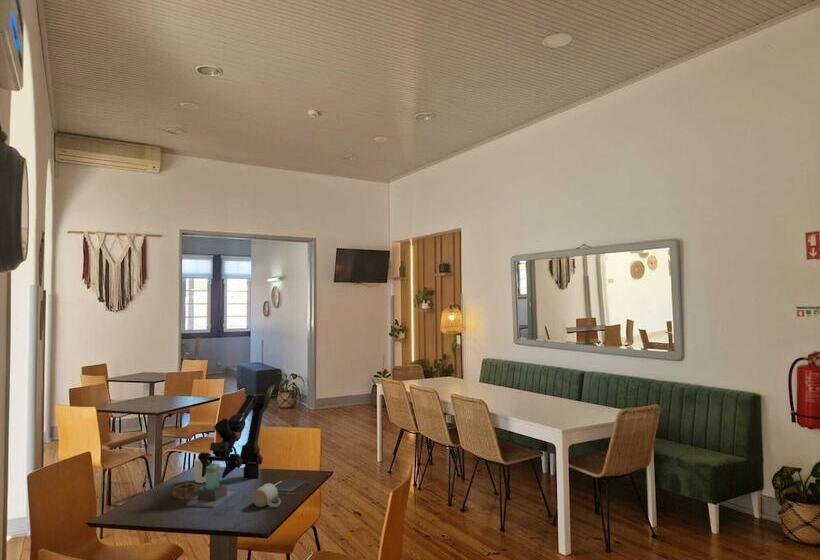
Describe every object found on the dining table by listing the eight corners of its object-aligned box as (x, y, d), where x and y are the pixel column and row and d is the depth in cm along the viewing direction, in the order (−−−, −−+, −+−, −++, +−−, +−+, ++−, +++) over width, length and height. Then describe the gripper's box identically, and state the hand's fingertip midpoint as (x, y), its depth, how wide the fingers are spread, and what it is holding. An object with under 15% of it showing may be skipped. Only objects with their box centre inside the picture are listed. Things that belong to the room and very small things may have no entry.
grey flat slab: (291, 492, 235) (260, 489, 239) (291, 497, 235) (260, 494, 239) (312, 479, 254) (283, 477, 258) (312, 483, 254) (282, 481, 258)
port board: (211, 492, 240) (211, 480, 240) (236, 493, 238) (236, 482, 238) (186, 505, 222) (186, 493, 223) (213, 507, 220) (213, 495, 220)
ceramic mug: (250, 507, 221) (251, 487, 221) (261, 500, 228) (262, 481, 229) (273, 510, 217) (274, 490, 218) (284, 503, 225) (285, 484, 226)
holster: (190, 491, 241) (190, 482, 241) (199, 494, 237) (199, 485, 237) (172, 496, 234) (173, 486, 235) (182, 499, 230) (182, 489, 230)
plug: (211, 495, 233) (211, 464, 233) (219, 495, 232) (219, 464, 233) (205, 498, 228) (205, 466, 229) (213, 499, 227) (214, 467, 228)
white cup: (194, 479, 260) (194, 457, 260) (212, 477, 262) (212, 456, 263) (193, 484, 252) (193, 461, 253) (211, 482, 254) (211, 460, 255)
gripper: (200, 433, 239) (184, 466, 227) (239, 435, 235) (225, 468, 223) (210, 447, 246) (195, 479, 234) (248, 449, 242) (235, 482, 230)
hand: (212, 477), depth 230 cm, fingers open, 9 cm apart
